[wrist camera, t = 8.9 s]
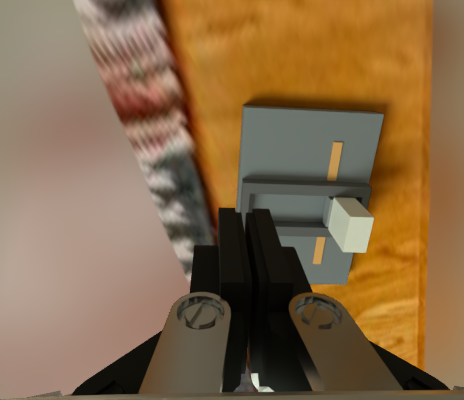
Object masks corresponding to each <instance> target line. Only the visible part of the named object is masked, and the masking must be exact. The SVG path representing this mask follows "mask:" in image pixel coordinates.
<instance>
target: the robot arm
mask: <svg viewBox="0 0 464 400" xmlns="http://www.w3.org/2000/svg"><path fill="white" fill-rule="evenodd" d="M247 347H248V354H249V363H250V371H251V373H258V380H259V387H269V388H270V389H272V390H273V391H274V392H233V391H234V390H235V389H236V388H237V387H238V386H239V385H240V380H241V374H245V371H246V359H247ZM1 400H464V387H459V386H454V388H453V390H450V389H449V388H448V387H447V386H446V385H445V384H443V383H442V382H440V381H439V380H438V379H436V378H435V377H433V376H431V375H429V374H428V373H426V372H424V371H422V370H421V369H419V368H417V367H415V366H413V365H412V364H410V363H408V362H406V361H404V360H403V359H401V358H399V357H397V356H396V355H394V354H392V353H390V352H388V351H387V350H385V349H383V348H381V347H380V346H378V345H376V344H374V343H372V342H371V341H369V340H368V339H367V338H366V337H365V335H364V334H363V332H362V331H361V330H360V328H359V327H358V325H357V324H356V323H355V321H354V320H353V318H352V317H351V316H350V314H349V313H348V311H347V310H346V309H345V308H344V306H343V305H342V304H341V303H340V302H338V301H337V300H335V299H334V298H332V297H329V296H327V295H324V294H319V293H313V292H312V289H311V287H310V284H309V282H308V279H307V277H306V274H305V272H304V269H303V267H302V264H301V262H300V259H299V257H298V254H297V252H296V249H295V248H294V247H286V246H281V243H280V240H279V237H278V234H277V231H276V228H275V225H274V222H273V219H272V216H271V213H270V210H269V209H260V208H252V213H247V212H246V216H245V231H244V226H243V220H242V214H241V212H235V208H219V212H218V244H217V246H209V245H195V246H194V256H193V266H192V275H191V285H190V294H187V295H185V296H183V297H181V298H179V299H178V300H177V301H176V302H175V303H174V304H173V306H172V308H171V310H170V312H169V315H168V318H167V320H166V323H165V325H164V328H163V330H162V331H160V332H159V333H158V334H156V335H154V336H153V337H151V338H150V339H148V340H147V341H145V342H144V343H142V344H141V345H139V346H138V347H136V348H135V349H133V350H132V351H130V352H129V353H127V354H126V355H124V356H122V357H121V358H119V359H118V360H116V361H115V362H113V363H112V364H110V365H109V366H107V367H106V368H104V369H103V370H101V371H100V372H98V373H97V374H95V375H94V376H92V377H91V378H89V379H88V380H86V381H85V382H84V383H82V384H81V385H80V386H79V387H77V388H76V389H75V391H74V392H73V393H72V394H69V395H64V396H62V395H61V391H56V392H51V393H46V394H42V395H37V396H32V397H27V398H17V399H1Z"/></svg>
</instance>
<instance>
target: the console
mask: <svg viewBox="0 0 464 400" xmlns="http://www.w3.org/2000/svg"><path fill="white" fill-rule="evenodd" d="M383 118H384V114H382V113H379V112H375V111H355V110H335V109H315V108H295V107H275V106H255V105H243V110H242V126H241V141H240V157H239V172H238V187H237V203H236V212H241V214H242V220H243V226H244V231H245V216H246V212H247V213H252V208H260V209H269V210H270V213H271V216H272V219H273V222H274V225H275V228H276V231H277V234H278V237H279V240H280V243H281V246H286V247H294V248H295V249H296V252H297V254H298V257H299V259H300V262H301V264H302V267H303V269H304V272H305V274H306V277H307V279H308V282H309V284H340V285H346V284H347V280H348V275H349V271H350V266H351V262H352V257H353V253H354V252H343V251H342V250H341V248H340V247H339V245H338V244H337V242H336V241H335V239H334V238H333V236H332V235H331V233H330V231H329V230H328V227H326V226H325V225H324V223H323V222H322V218H323V212H324V206H325V200H326V196H338V197H354V198H355V199H356V200H357V201H358V202H359V203H360V204H361V205H362V206H363V207H364V208H365V209H366V210H367V207H368V203H369V198H370V194H371V189H372V187H371V186H369V181H370V176H371V172H372V167H373V163H374V158H375V154H376V149H377V145H378V140H379V136H380V131H381V127H382V122H383Z"/></svg>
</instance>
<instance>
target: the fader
mask: <svg viewBox="0 0 464 400" xmlns="http://www.w3.org/2000/svg"><path fill="white" fill-rule="evenodd" d="M373 220H374V217H373V216H372V215H371V214H370V213H369V212H368V211H367V210H366V209H365V208H364V207H363V206H362V205H361V204H360V203H359V202H358V201H357V200H356V199H355V198H354V197H338V196H326V200H325V206H324V212H323V218H322V222H323V223H324V225H325V226H326V227H328V230H329V231H330V233H331V235H332V236H333V238H334V239H335V241H336V242H337V244H338V245H339V247H340V248H341V250H342V251H343V252H358V253H366V250H367V246H368V241H369V237H370V233H371V229H372V225H373Z"/></svg>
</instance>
